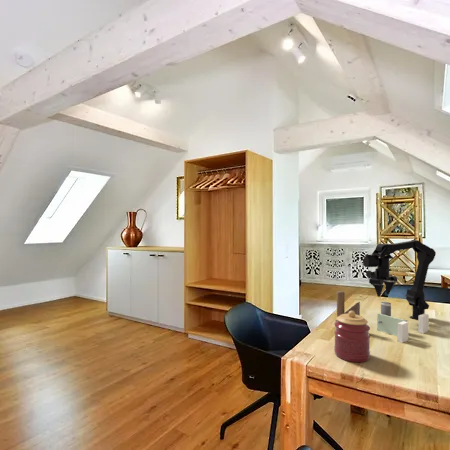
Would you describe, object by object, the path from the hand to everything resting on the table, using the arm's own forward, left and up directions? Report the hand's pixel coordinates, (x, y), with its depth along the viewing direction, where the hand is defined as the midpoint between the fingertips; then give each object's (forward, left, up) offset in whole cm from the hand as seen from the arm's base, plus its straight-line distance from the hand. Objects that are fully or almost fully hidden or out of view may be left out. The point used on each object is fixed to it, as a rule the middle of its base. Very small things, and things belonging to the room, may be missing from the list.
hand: (383, 295), depth 165 cm
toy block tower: (+30, -2, -13) cm, 33 cm away
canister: (+56, +17, -13) cm, 60 cm away
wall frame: (+13, +21, -13) cm, 28 cm away
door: (+20, +14, -13) cm, 27 cm away
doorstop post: (+15, +9, -13) cm, 22 cm away
